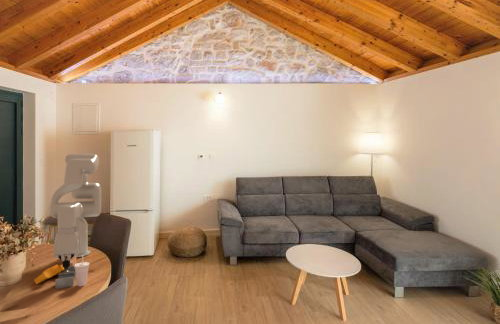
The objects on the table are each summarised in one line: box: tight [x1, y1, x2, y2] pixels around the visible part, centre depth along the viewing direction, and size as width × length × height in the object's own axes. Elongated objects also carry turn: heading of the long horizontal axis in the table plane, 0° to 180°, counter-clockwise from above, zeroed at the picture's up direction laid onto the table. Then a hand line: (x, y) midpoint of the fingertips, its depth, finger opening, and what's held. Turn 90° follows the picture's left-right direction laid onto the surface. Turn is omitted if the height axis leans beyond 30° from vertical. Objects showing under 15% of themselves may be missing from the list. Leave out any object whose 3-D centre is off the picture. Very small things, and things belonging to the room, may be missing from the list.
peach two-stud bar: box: [66, 256, 77, 266], centre depth 163 cm, size 12×4×5 cm, turn 22°
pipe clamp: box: [33, 263, 65, 285], centre depth 148 cm, size 12×4×6 cm
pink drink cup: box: [74, 255, 90, 287], centre depth 143 cm, size 6×6×14 cm
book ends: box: [54, 266, 76, 289], centre depth 147 cm, size 17×7×4 cm, turn 26°
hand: (66, 268), depth 147 cm, fingers closed
